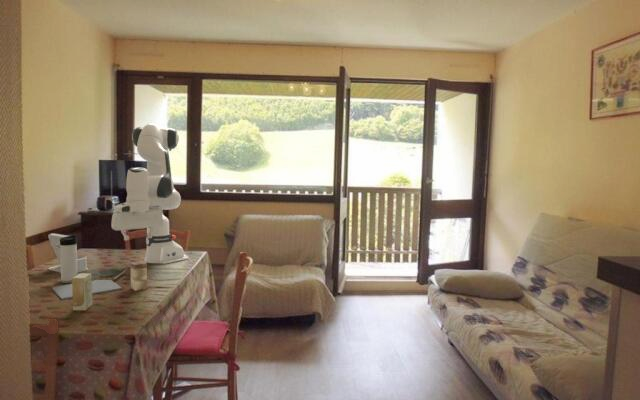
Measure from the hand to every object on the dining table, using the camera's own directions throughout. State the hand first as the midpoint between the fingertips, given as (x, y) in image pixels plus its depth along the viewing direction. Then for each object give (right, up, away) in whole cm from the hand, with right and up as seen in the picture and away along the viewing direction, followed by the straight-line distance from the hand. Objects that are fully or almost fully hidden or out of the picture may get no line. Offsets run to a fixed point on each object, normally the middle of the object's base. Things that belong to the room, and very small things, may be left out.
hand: (138, 239), depth 175 cm
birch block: (-1, -21, +2) cm, 21 cm away
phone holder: (-46, -18, +27) cm, 56 cm away
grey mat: (-21, -21, -1) cm, 30 cm away
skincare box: (-11, -23, -22) cm, 34 cm away
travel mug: (-34, -20, +9) cm, 40 cm away
